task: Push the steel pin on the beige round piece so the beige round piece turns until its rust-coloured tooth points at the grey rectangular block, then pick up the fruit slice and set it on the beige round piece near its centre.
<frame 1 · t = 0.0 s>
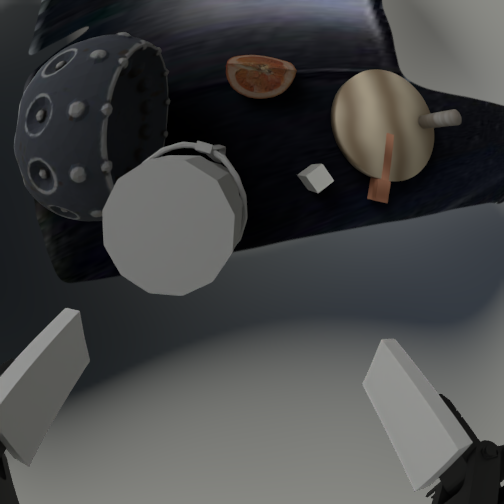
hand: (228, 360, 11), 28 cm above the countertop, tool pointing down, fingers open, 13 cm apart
fruit slice: (258, 80, 32), on the countertop
beige round piece: (402, 131, 29), point 6 cm above the countertop, hinge at 0.0°
water bottle: (214, 183, 36), on the countertop
grey rectangular block: (309, 177, 36), on the countertop
grey dotted bowl: (134, 135, 33), on the countertop
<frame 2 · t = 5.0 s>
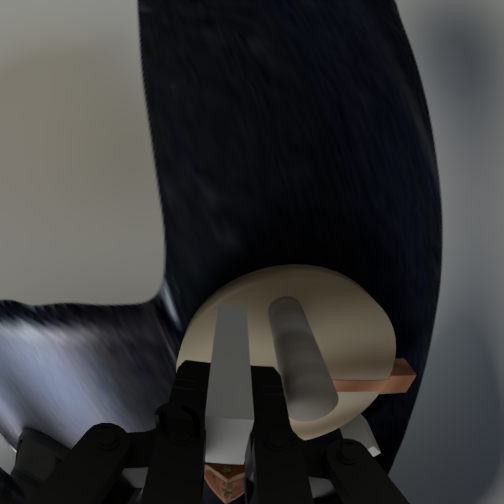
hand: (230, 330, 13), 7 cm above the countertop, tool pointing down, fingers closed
fruit slice: (229, 460, 26), on the countertop
beige round piece: (318, 404, 15), point 6 cm above the countertop, hinge at -4.4°, touching gripper
grey rectangular block: (352, 422, 24), on the countertop
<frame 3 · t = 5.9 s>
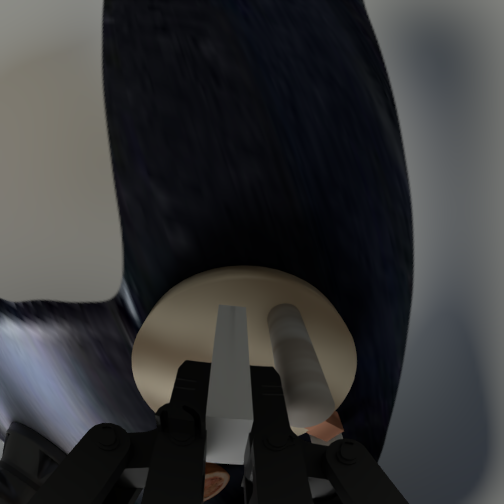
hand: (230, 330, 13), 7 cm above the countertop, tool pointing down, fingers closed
fruit slice: (202, 460, 26), on the countertop
beige round piece: (264, 416, 15), point 6 cm above the countertop, hinge at -36.2°, touching gripper
grey rectangular block: (324, 428, 24), on the countertop
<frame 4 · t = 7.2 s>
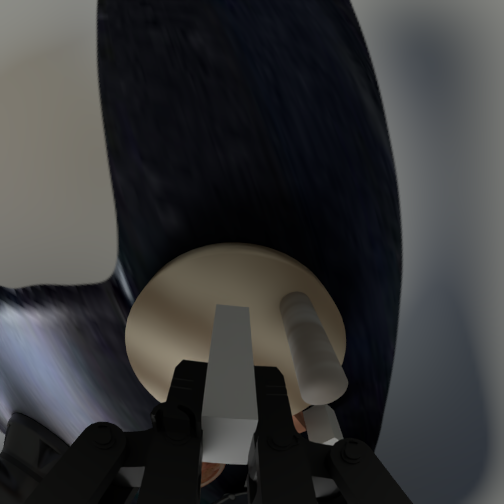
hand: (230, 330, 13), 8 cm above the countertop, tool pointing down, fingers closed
fruit slice: (198, 445, 27), on the countertop
beige round piece: (250, 395, 16), point 6 cm above the countertop, hinge at -54.0°
grey rectangular block: (318, 411, 25), on the countertop
grey dotted bowl: (255, 492, 32), on the countertop
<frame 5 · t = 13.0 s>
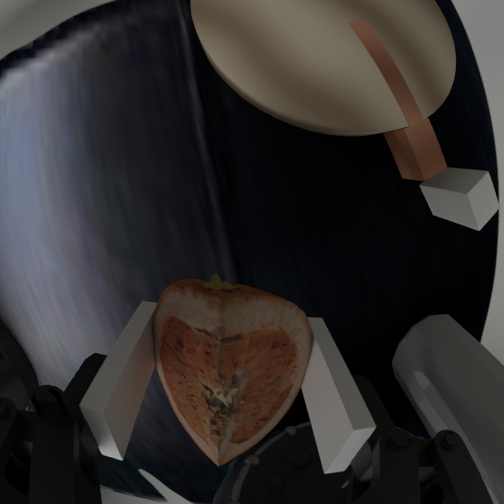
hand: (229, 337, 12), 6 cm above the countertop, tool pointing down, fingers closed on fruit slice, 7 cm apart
fruit slice: (229, 331, 13), point 5 cm above the countertop, touching gripper
water bottle: (415, 342, 20), on the countertop
grey rectangular block: (437, 190, 16), on the countertop
grey dotted bowl: (316, 435, 23), on the countertop
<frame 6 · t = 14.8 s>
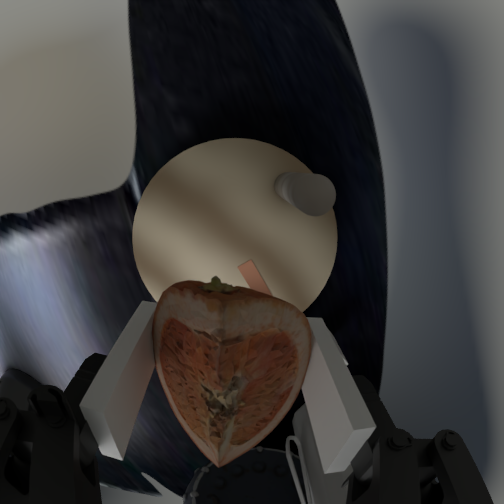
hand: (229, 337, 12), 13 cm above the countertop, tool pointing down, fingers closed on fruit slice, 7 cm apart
fruit slice: (229, 332, 13), point 12 cm above the countertop, touching gripper
beige round piece: (249, 269, 19), point 6 cm above the countertop, hinge at -54.0°
water bottle: (311, 410, 32), on the countertop
grey dotted bowl: (254, 455, 34), on the countertop
when the fingers open (4 cm above the countertop, at t = 16.7 s): fruit slice stays where it is, resting on beige round piece.
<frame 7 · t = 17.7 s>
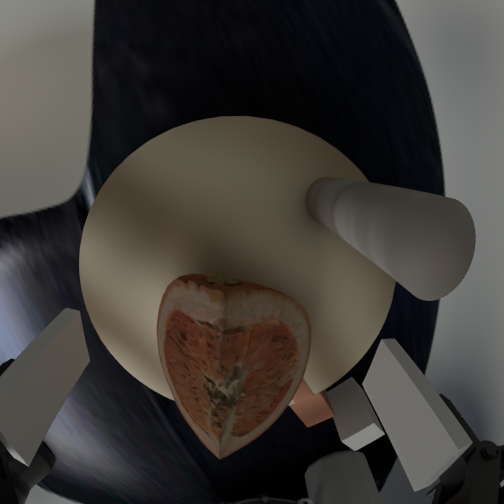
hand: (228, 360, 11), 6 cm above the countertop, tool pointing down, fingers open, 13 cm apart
fruit slice: (232, 326, 13), point 3 cm above the countertop, touching beige round piece
beige round piece: (262, 347, 10), point 6 cm above the countertop, hinge at -54.0°, touching fruit slice
water bottle: (327, 461, 23), on the countertop
grey rectangular block: (344, 392, 19), on the countertop
grey dotted bowl: (258, 499, 26), on the countertop
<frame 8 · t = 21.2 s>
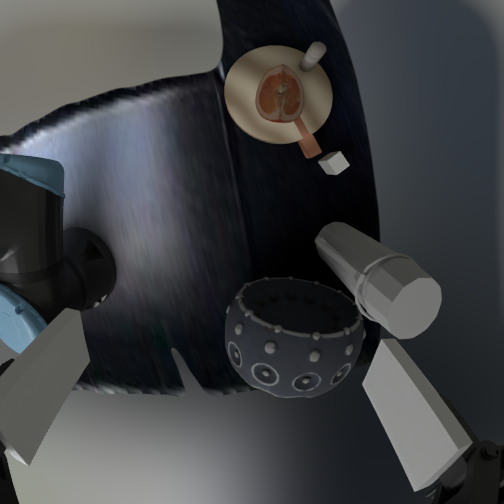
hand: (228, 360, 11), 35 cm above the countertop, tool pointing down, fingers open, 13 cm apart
fruit slice: (278, 100, 36), point 3 cm above the countertop, touching beige round piece
beige round piece: (290, 92, 33), point 6 cm above the countertop, hinge at -54.0°, touching fruit slice
water bottle: (329, 239, 46), on the countertop
grey rectangular block: (328, 163, 42), on the countertop
grey dotted bowl: (284, 300, 49), on the countertop
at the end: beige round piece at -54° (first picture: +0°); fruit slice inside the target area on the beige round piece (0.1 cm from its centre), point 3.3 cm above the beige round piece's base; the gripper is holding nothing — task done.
